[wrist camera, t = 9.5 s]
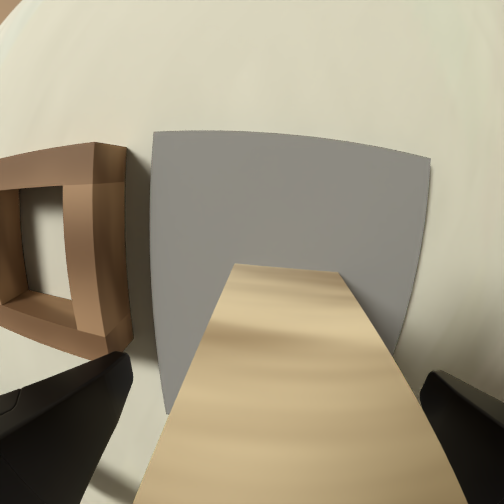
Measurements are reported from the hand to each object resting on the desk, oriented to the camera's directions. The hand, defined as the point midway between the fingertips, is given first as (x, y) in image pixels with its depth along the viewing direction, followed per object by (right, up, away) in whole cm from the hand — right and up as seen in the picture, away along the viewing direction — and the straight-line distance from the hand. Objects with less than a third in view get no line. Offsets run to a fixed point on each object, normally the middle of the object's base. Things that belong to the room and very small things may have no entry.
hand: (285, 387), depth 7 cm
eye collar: (-11, +4, +5) cm, 13 cm away
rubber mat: (0, +1, +5) cm, 5 cm away
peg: (0, +1, +4) cm, 4 cm away
